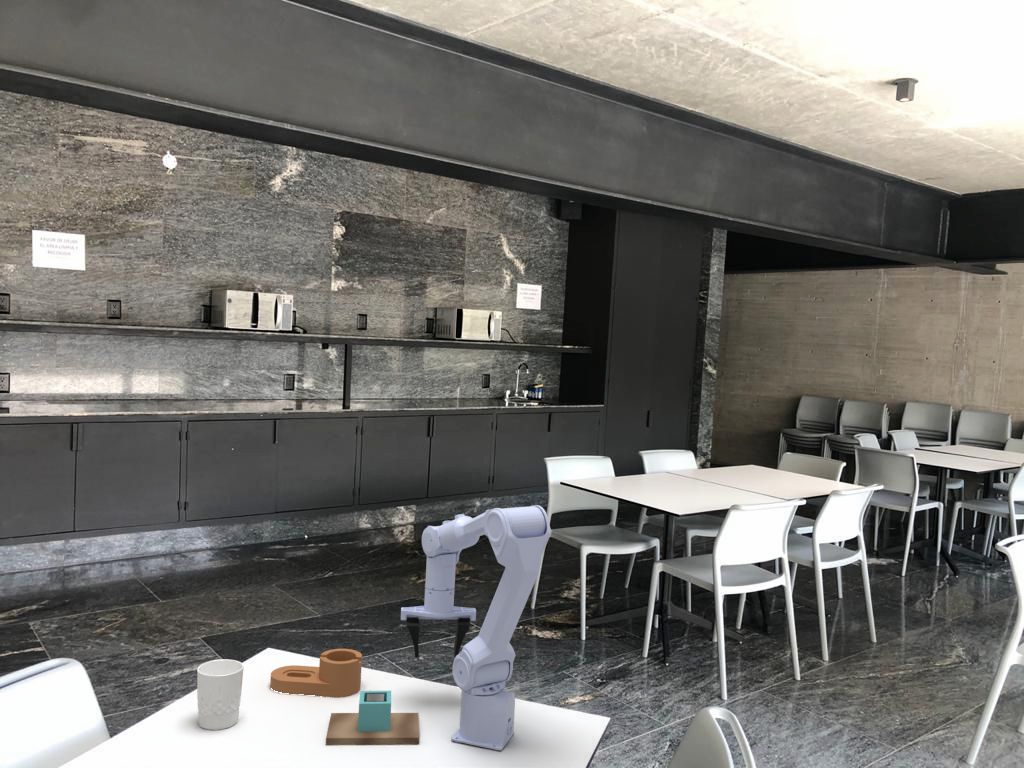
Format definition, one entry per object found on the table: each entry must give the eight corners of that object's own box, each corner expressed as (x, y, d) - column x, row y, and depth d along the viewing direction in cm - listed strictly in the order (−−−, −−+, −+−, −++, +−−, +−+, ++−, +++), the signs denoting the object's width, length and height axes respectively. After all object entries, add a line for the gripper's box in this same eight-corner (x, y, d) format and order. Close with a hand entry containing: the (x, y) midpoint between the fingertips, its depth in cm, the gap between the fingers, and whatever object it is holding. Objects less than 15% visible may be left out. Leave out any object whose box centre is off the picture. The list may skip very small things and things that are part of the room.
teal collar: (389, 717, 150) (391, 690, 150) (389, 731, 145) (391, 703, 145) (358, 717, 150) (360, 690, 150) (357, 731, 144) (359, 703, 144)
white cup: (222, 735, 143) (224, 678, 142) (185, 726, 145) (187, 670, 145) (250, 717, 150) (252, 663, 150) (214, 709, 153) (217, 656, 152)
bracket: (364, 683, 169) (365, 650, 169) (355, 699, 161) (356, 665, 160) (277, 677, 170) (279, 644, 169) (264, 693, 161) (266, 658, 161)
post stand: (418, 719, 153) (419, 686, 153) (418, 744, 143) (420, 709, 143) (330, 719, 151) (332, 686, 151) (325, 745, 141) (327, 709, 141)
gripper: (474, 581, 165) (471, 648, 165) (402, 580, 163) (398, 648, 163) (478, 591, 158) (474, 661, 158) (402, 590, 156) (399, 661, 156)
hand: (436, 655), depth 160 cm, fingers open, 7 cm apart
